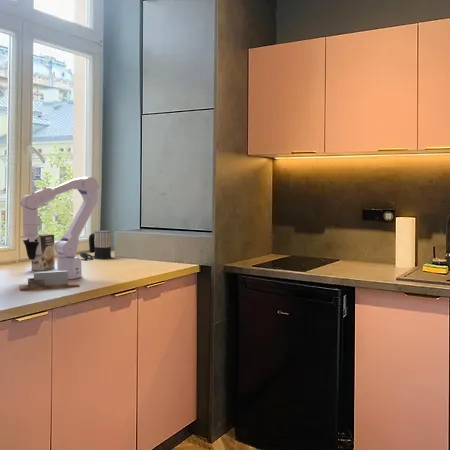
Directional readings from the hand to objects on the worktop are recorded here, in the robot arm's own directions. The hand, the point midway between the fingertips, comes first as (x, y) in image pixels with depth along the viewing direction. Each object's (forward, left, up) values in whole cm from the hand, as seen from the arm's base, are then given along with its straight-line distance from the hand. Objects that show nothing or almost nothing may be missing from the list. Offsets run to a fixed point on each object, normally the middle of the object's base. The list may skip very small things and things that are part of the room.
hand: (31, 258), depth 211 cm
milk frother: (+18, -69, -10) cm, 72 cm away
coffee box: (+18, -28, -10) cm, 34 cm away
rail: (-16, +7, -9) cm, 19 cm away
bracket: (-16, +7, -9) cm, 20 cm away
